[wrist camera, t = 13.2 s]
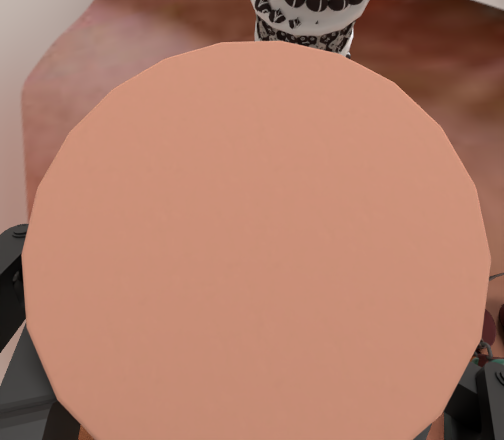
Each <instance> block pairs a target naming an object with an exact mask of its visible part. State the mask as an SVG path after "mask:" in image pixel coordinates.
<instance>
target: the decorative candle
mask: <svg viewBox="0 0 504 440" xmlns="http://www.w3.org/2000/svg"><path fill="white" fill-rule="evenodd" d="M368 1H369V0H251V2H252V5H253V7H254V10H255V12H256V27H255V40H254V41H284V42H289V43H293V44H298V45H302V46H307V47H311V48H315V49H320V50H324V51H329V52H333V53H338V54H340V55H342V56H344V57H346V58H348V59H350V52H349V48H350V45H351V41H352V38H353V26H354V23H355V21H356V19H357V18H358V17H360V16H361V14H362V13H363V11H364V9H365V7H366V5H367V3H368Z"/></svg>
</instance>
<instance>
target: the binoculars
mask: <svg viewBox="0 0 504 440" xmlns="http://www.w3.org/2000/svg"><path fill="white" fill-rule="evenodd" d="M501 275H504V273H501V274H497V275H494V276H491V277H489V281H490V280H492V279H494V278H496V277H498V276H501ZM499 316H500V320H501V322H502V324H503V326H504V304H503V305H502V307H501V308H500V312H499ZM495 337H496V326H495V322H494V320H493V318H492V316H491V315H490V313H489V312H488V311H487V310H486V309H485V313H484V321H483V329H482V337H481V340H480V342H479V344H478V346H477V348H476V350H475V352H474V354H473V355H472V357H471V359H470V362H472V363H474V364H476V365H478V366H480V367H483V366H484V365H485V364H486V363H488V362H497V363H499V364H502V365H504V358H500V357H493V355H492V351H491V347H490V346H491V345H493V343H494V341H495ZM480 348H482V349H483V348H487V350H488V354H489V355H485V354H481V353H480V352H479V349H480Z"/></svg>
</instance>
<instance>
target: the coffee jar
mask: <svg viewBox="0 0 504 440" xmlns="http://www.w3.org/2000/svg"><path fill="white" fill-rule="evenodd" d="M21 256H22V269H23V283H24V297H25V311H26V325H27V330H28V332H29V334H30V337H31V339H32V341H33V344H34V346H35V348H36V351H37V353H38V355H39V358H40V360H41V362H42V365H43V367H44V369H45V372H46V374H47V377H48V379H49V381H50V384H51V386H52V388H53V391H54V393H55V395H56V398H57V400H58V401H59V402H60V403H61V404H62V405H63V406H64V407H65V408H66V409H67V410H68V411H69V413H70V414H71V415H72V416H73V417H74V418H75V419H76V420H77V421H78V422H79V423H80V424H81V425H82V426H83V427H84V428H85V429H86V431H87V432H88V433H89V434H90V435H91V436H92V437H93V438H94V439H95V440H413V439H414V438H415V437H416V436H417V435H419V434H420V433H421V432H422V431H423V430H424V429H425V428H427V427H428V426H429V425H430V424H431V423H432V422H434V421H435V420H436V419H437V418H438V417H439V416H440V415H442V413H443V411H444V409H445V407H446V405H447V403H448V401H449V399H450V397H451V396H452V394H453V392H454V390H455V388H456V386H457V384H458V382H459V380H460V378H461V376H462V375H463V373H464V371H465V369H466V367H467V365H468V363H469V361H470V359H471V357H472V355H473V354H474V352H475V350H476V348H477V346H478V344H479V342H480V340H481V337H482V329H483V321H484V313H485V305H486V297H487V290H488V282H489V274H490V266H491V256H490V251H489V246H488V242H487V237H486V232H485V228H484V223H483V218H482V213H481V209H480V204H479V199H478V195H477V190H476V186H475V185H474V183H473V181H472V179H471V178H470V176H469V174H468V172H467V171H466V169H465V167H464V165H463V164H462V162H461V160H460V159H459V157H458V155H457V153H456V152H455V150H454V148H453V146H452V145H451V143H450V141H449V139H448V138H447V136H446V134H445V133H444V131H443V129H442V127H441V126H440V125H439V124H438V123H436V122H435V121H434V120H433V119H432V118H431V117H430V116H429V115H428V114H427V113H426V112H425V111H424V110H423V109H422V108H421V107H420V106H418V105H417V104H416V103H415V102H414V101H413V100H412V99H411V98H410V97H409V96H408V95H407V94H406V93H405V92H404V91H403V90H401V89H400V88H399V87H398V86H397V85H396V84H395V83H394V82H392V81H390V80H388V79H386V78H384V77H383V76H381V75H379V74H377V73H375V72H373V71H371V70H369V69H367V68H365V67H363V66H361V65H360V64H358V63H356V62H354V61H352V60H350V59H348V58H346V57H344V56H342V55H340V54H338V53H333V52H329V51H324V50H320V49H315V48H311V47H307V46H302V45H298V44H293V43H289V42H284V41H253V42H222V43H218V44H215V45H211V46H208V47H204V48H201V49H197V50H194V51H190V52H187V53H183V54H180V55H176V56H173V57H169V58H166V59H164V60H162V61H160V62H158V63H157V64H155V65H153V66H151V67H150V68H148V69H146V70H145V71H143V72H141V73H139V74H138V75H136V76H134V77H133V78H131V79H129V80H127V81H126V82H124V83H122V84H121V85H119V86H117V87H115V88H114V89H112V90H111V91H110V92H109V93H108V94H107V95H106V96H105V97H104V98H103V99H102V100H101V101H100V102H99V103H98V104H97V105H96V106H95V107H94V108H93V109H92V110H91V111H90V112H89V113H88V114H87V115H86V116H85V117H84V118H83V119H82V120H81V121H80V122H79V123H78V124H77V125H76V126H75V127H74V128H73V129H72V130H71V131H70V132H69V134H68V136H67V137H66V139H65V141H64V143H63V144H62V146H61V148H60V150H59V151H58V153H57V155H56V157H55V158H54V160H53V162H52V164H51V165H50V167H49V169H48V171H47V172H46V174H45V176H44V178H43V179H42V181H41V183H40V185H39V186H38V188H37V192H36V196H35V200H34V205H33V209H32V213H31V217H30V221H29V225H28V230H27V234H26V238H25V242H24V246H23V251H22V255H21Z"/></svg>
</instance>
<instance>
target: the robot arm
mask: <svg viewBox="0 0 504 440" xmlns="http://www.w3.org/2000/svg"><path fill="white" fill-rule="evenodd" d="M28 225H29V224H22V225H21V224H20V225H17V226H14V227H11V228H9V229H8V230H6V231H4V232H3V233H2V234H1V235H0V353H1V351H2V350H3V349H4V347H5V346H6V345H7V343H8V342H9V341H10V339H11V338H12V336H13V335H14V334H15V332H16V331H17V330H18V328H19V327H20V326H21V324H22V323H23V321H24V320H25V319H26V311H25V297H24V283H23V269H22V256H21V255H22V251H23V246H24V242H25V238H26V234H27V230H28ZM443 412H444V440H504V365H502V364H499V363H497V362H488V363H486V364H485V365H484V366H483V367H480V366H478V365H476V364H474V363H472V362H470V361H469V363H468V365H467V367H466V369H465V371H464V373H463V375H462V376H461V378H460V380H459V382H458V384H457V386H456V388H455V390H454V392H453V394H452V396H451V397H450V399H449V401H448V403H447V405H446V407H445V409H444V411H443ZM431 425H432V423H431V424H430V425H429V426H428V427H427V428H425V429H424V430H423V431H422V432H421V433H420V434H419V435H417V436H416V437H415V438H414V439H413V440H426V438H427V435H428V432H429V430H430V427H431ZM79 430H80V423H79V422H78V421H77V420H76V419H75V418H74V417H73V416H72V415H71V414H70V413H69V411H68V410H67V409H66V408H65V407H64V406H63V405H62V404H61V403H60V402H59V401H58V400H57V398H56V395H55V393H54V391H53V388H52V386H51V384H50V381H49V379H48V377H47V374H46V372H45V369H44V367H43V365H42V362H41V360H40V358H39V355H38V353H37V351H36V348H35V346H34V344H33V341H32V339H31V337H30V334H29V332H28V330H27V325H26V324H25V327H24V329H23V332H22V334H21V336H20V339H19V341H18V344H17V346H16V349H15V351H14V354H13V356H12V359H11V361H10V364H9V366H8V369H7V371H6V374H5V377H4V379H3V381H2V384H1V386H0V440H78V436H79Z"/></svg>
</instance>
